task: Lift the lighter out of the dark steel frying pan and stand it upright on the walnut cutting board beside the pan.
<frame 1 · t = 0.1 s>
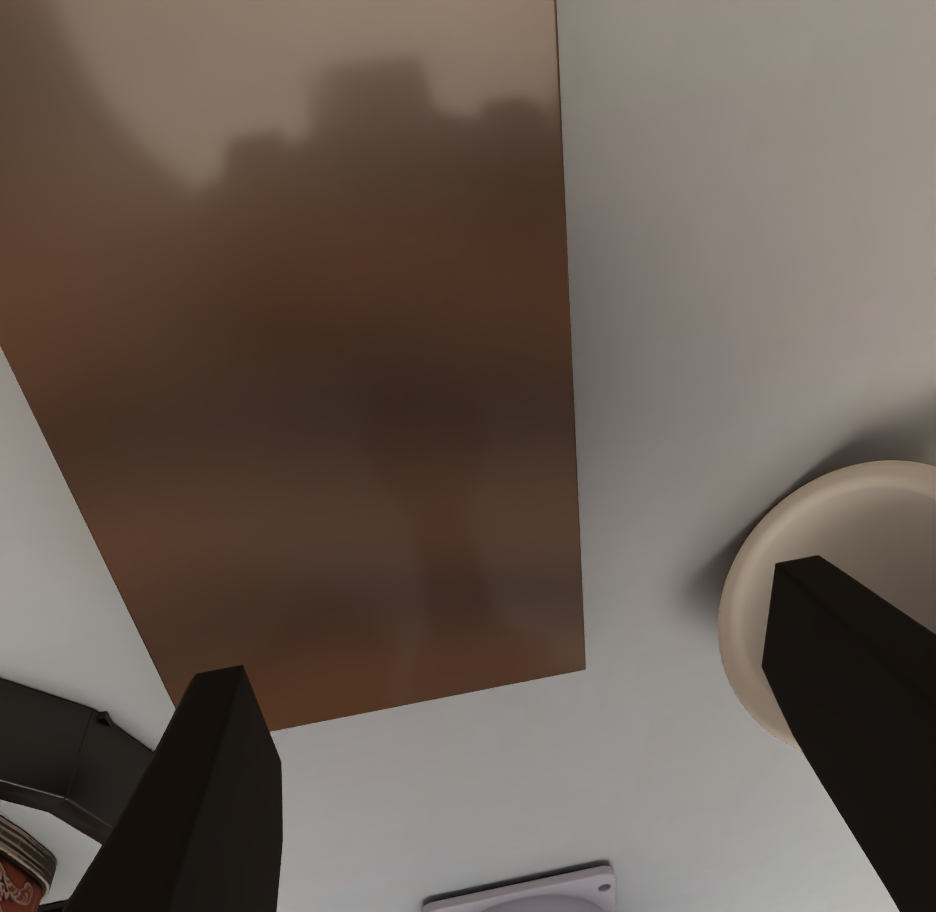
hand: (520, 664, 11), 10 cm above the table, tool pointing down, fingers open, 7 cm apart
mug: (911, 526, 25), on the table
board: (322, 403, 20), on the table
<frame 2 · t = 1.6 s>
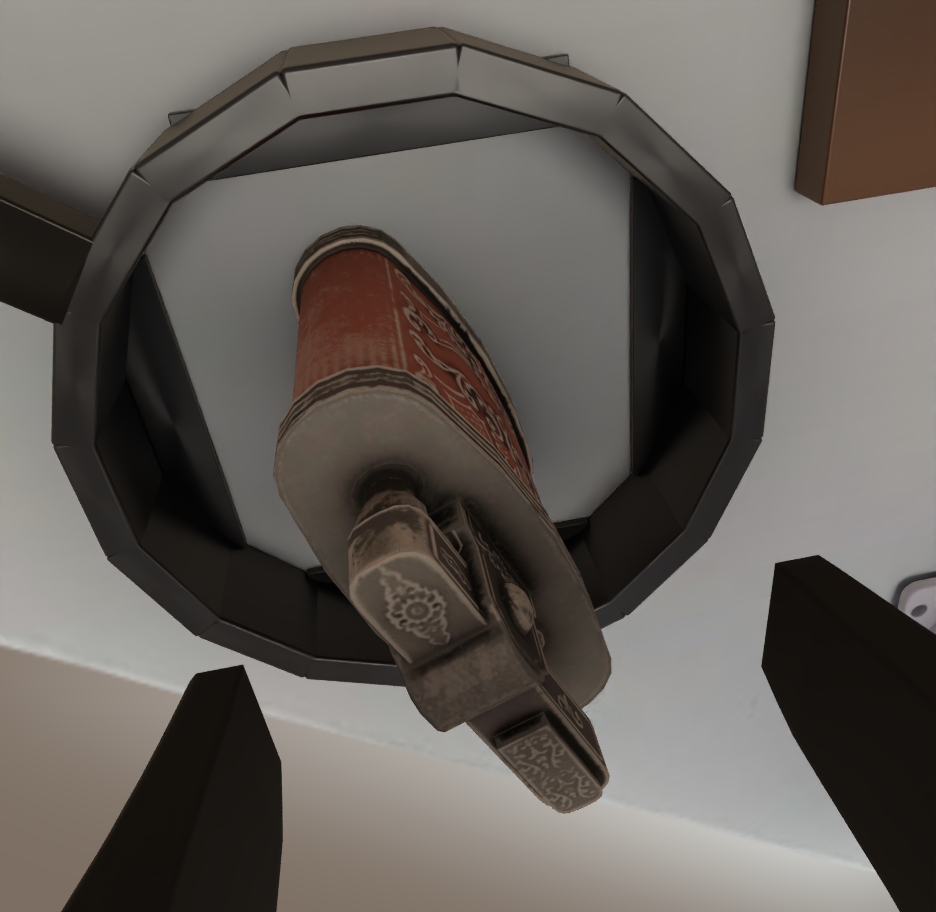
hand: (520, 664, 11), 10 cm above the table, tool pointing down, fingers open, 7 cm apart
lighter: (419, 373, 19), resting in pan
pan: (419, 377, 19), on the table
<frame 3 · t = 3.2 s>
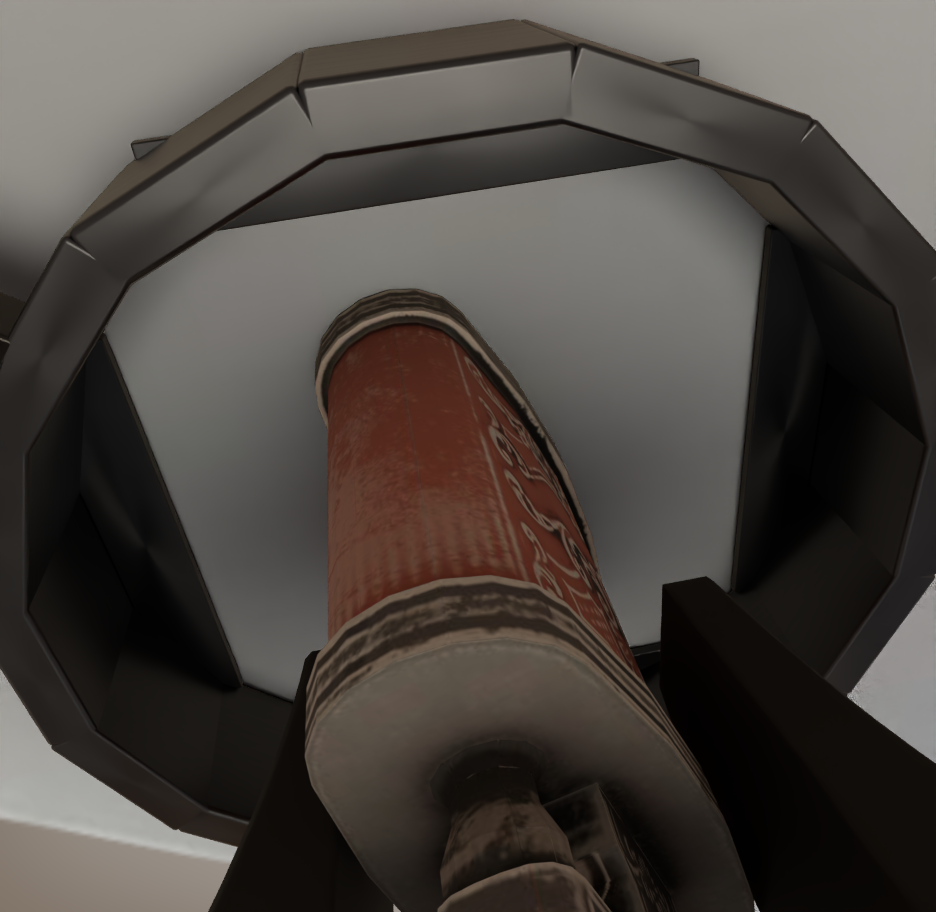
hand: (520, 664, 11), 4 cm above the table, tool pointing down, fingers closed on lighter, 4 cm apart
lighter: (468, 477, 15), resting in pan, touching gripper
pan: (471, 481, 15), on the table
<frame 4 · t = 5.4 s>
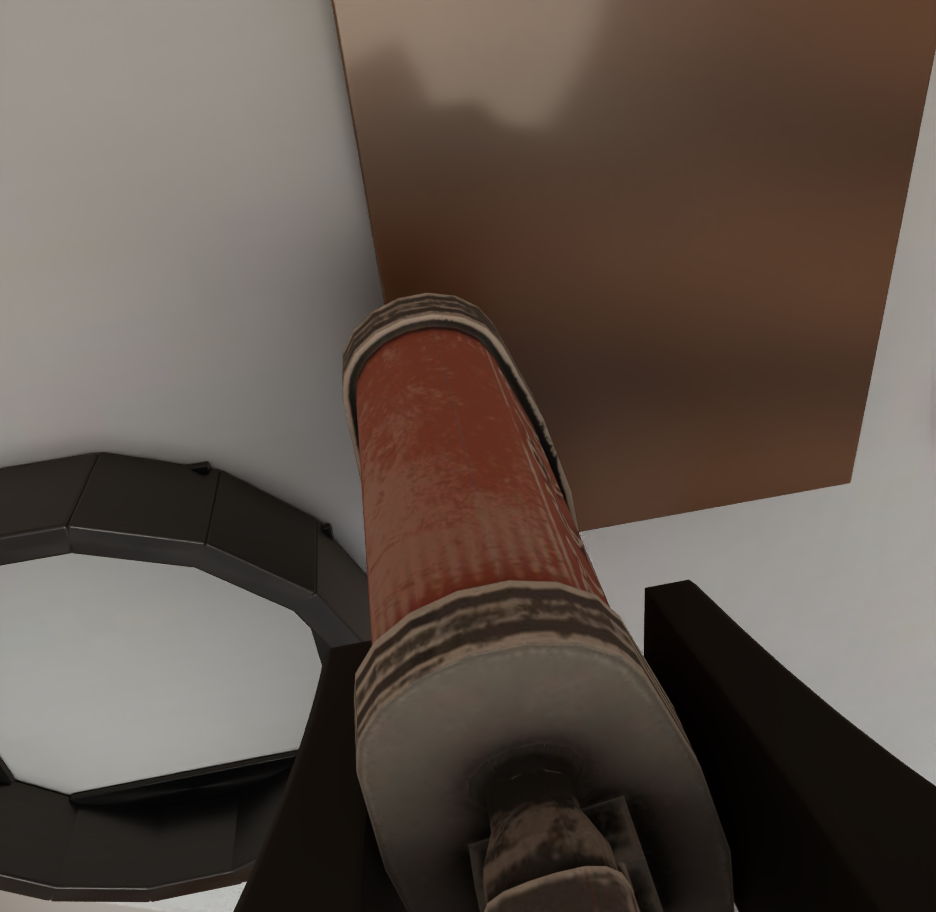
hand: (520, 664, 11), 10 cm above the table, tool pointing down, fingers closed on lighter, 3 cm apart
lighter: (469, 487, 15), point 6 cm above the table, touching gripper
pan: (138, 664, 24), on the table
board: (633, 130, 17), on the table
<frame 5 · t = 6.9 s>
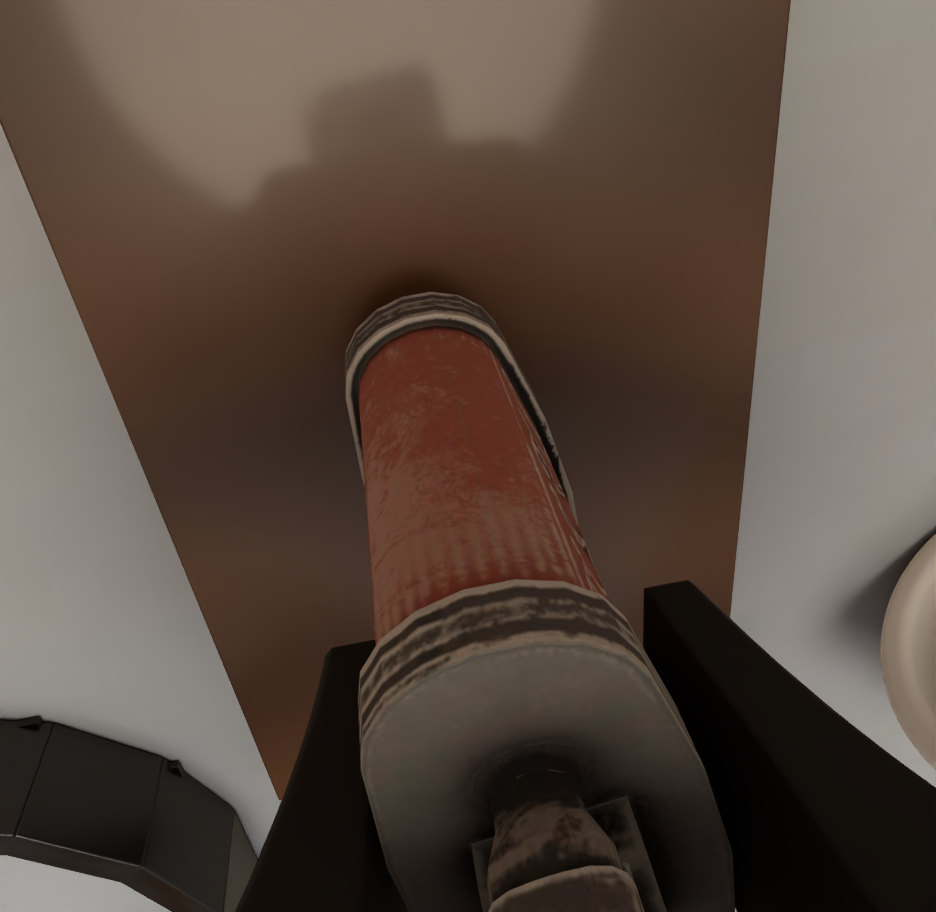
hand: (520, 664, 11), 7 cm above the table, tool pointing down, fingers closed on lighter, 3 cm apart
lighter: (470, 487, 15), point 2 cm above the table, touching gripper
board: (452, 411, 17), on the table
when the fingers open (6 cm above the table, at t = 7.8 s): lighter stays where it is, resting on board.
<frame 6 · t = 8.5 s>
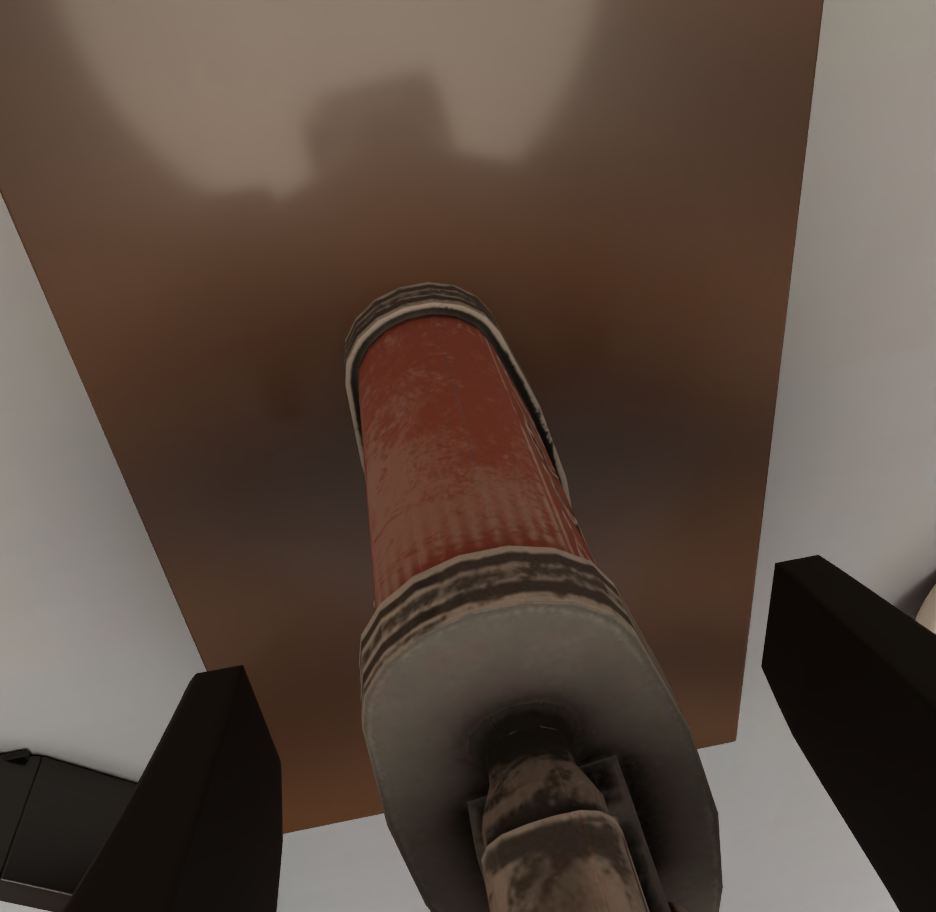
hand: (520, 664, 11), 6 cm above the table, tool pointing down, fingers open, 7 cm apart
lighter: (467, 474, 15), point 1 cm above the table, touching board
board: (458, 435, 16), on the table
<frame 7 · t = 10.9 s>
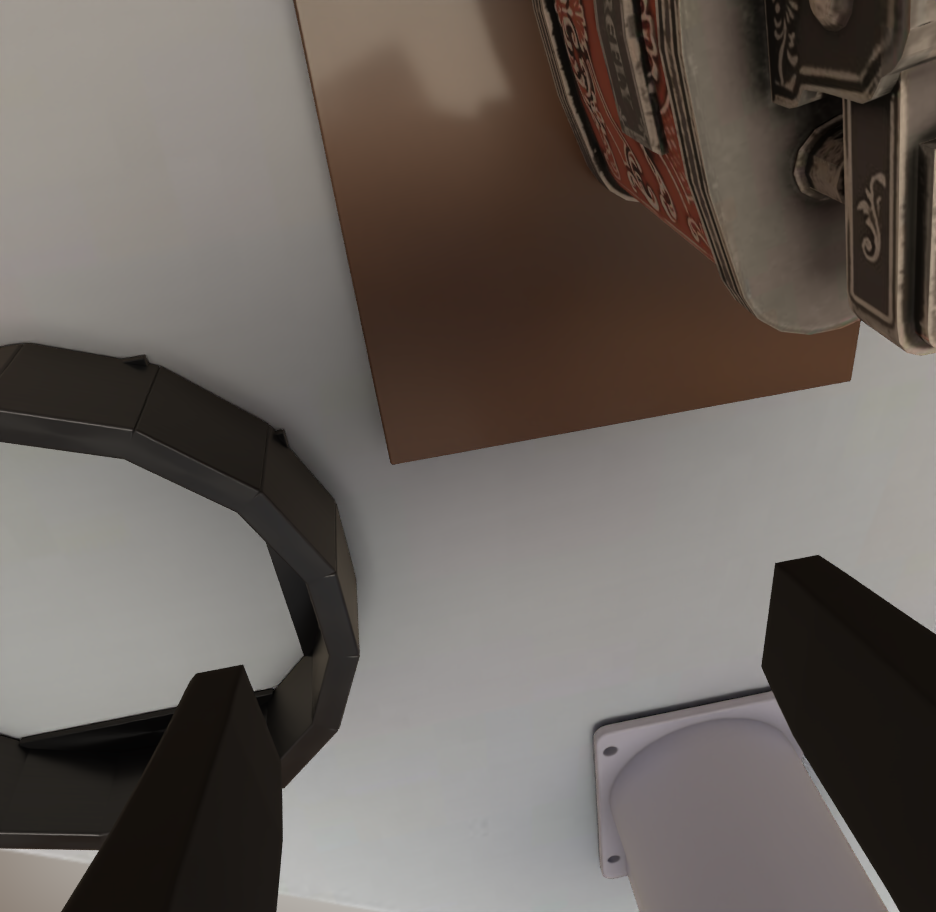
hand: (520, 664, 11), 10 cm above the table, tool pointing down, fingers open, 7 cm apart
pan: (83, 590, 22), on the table
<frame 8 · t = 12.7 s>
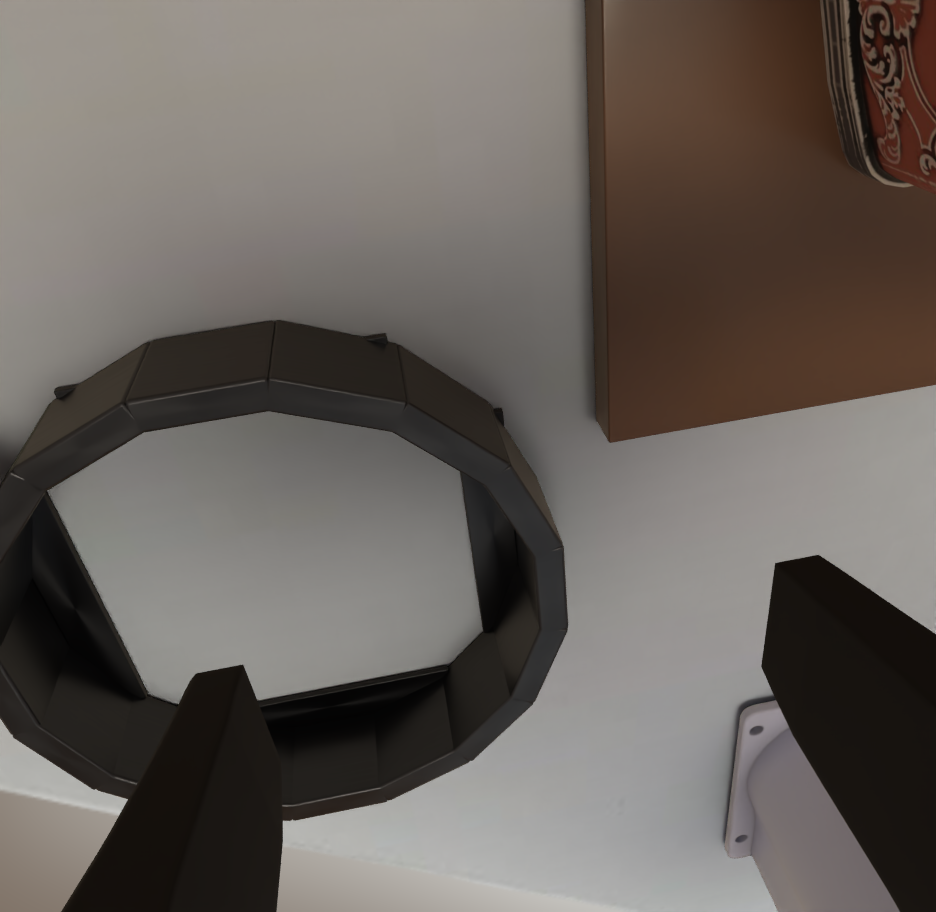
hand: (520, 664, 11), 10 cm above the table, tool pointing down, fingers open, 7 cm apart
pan: (287, 565, 22), on the table
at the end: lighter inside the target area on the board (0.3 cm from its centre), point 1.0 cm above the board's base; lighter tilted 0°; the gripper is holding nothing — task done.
